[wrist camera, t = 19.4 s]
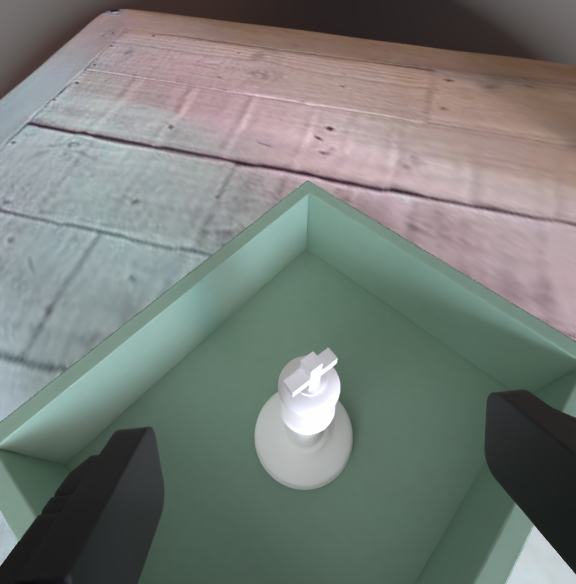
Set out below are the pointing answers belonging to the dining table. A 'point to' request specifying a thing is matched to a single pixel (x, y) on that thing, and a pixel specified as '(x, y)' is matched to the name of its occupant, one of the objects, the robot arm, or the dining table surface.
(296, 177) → the dining table surface
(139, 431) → the robot arm
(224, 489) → the open box
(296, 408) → the chess piece
